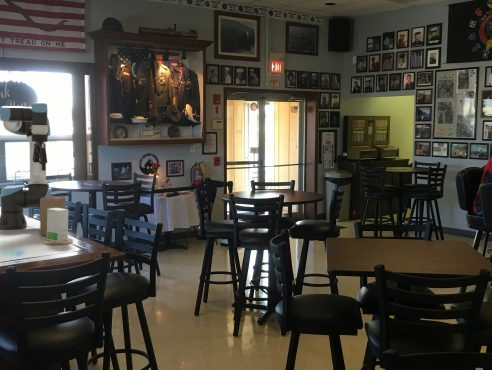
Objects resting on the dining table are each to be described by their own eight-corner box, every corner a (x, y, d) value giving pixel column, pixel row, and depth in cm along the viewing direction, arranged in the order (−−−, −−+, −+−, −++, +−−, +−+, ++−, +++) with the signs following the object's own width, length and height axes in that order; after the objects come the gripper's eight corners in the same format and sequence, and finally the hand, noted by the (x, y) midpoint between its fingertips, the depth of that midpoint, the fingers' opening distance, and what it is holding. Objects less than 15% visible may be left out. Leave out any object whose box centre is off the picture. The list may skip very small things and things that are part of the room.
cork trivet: (39, 241, 277) (39, 238, 277) (68, 238, 284) (68, 236, 284) (46, 246, 265) (46, 243, 265) (76, 243, 273) (76, 241, 272)
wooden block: (66, 233, 298) (65, 196, 296) (58, 237, 288) (57, 198, 287) (48, 232, 299) (47, 195, 297) (39, 236, 289) (39, 198, 287)
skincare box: (46, 240, 273) (46, 208, 272) (56, 238, 279) (56, 207, 278) (58, 242, 270) (58, 210, 268) (68, 240, 275) (68, 208, 274)
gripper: (26, 133, 287) (26, 174, 289) (37, 133, 266) (37, 178, 268) (41, 133, 291) (41, 174, 293) (53, 134, 270) (53, 177, 272)
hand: (39, 176), depth 281 cm, fingers open, 13 cm apart
